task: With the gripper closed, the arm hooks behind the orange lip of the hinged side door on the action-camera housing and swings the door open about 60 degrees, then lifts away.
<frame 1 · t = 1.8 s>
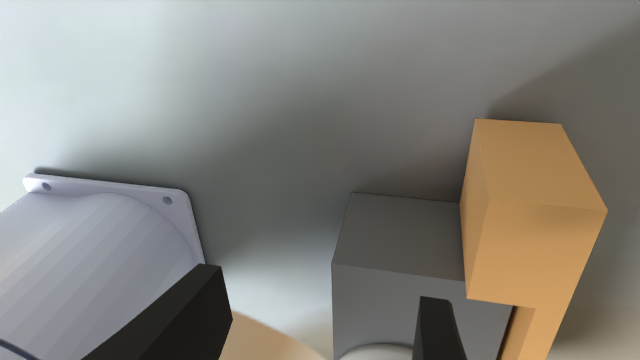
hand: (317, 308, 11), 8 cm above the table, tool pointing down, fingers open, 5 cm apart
camera housing: (413, 282, 21), on the table
camera door: (488, 309, 17), point 3 cm above the table, hinge at 0.0°
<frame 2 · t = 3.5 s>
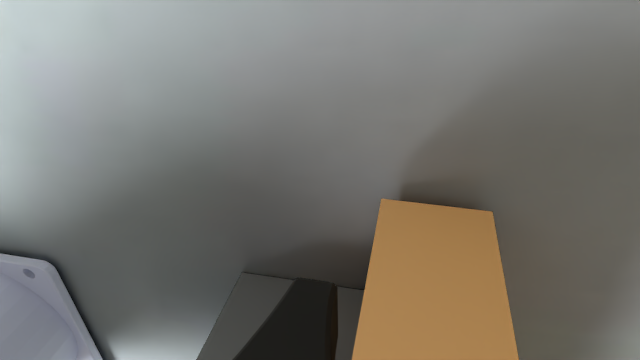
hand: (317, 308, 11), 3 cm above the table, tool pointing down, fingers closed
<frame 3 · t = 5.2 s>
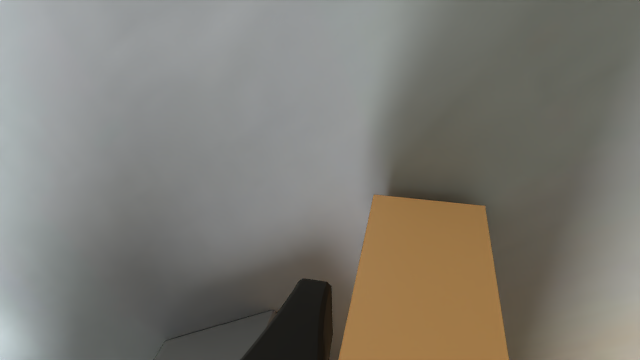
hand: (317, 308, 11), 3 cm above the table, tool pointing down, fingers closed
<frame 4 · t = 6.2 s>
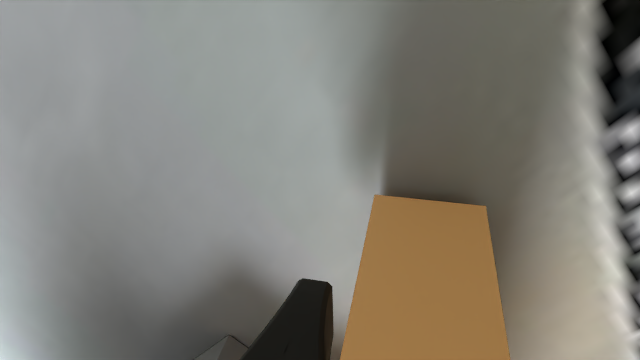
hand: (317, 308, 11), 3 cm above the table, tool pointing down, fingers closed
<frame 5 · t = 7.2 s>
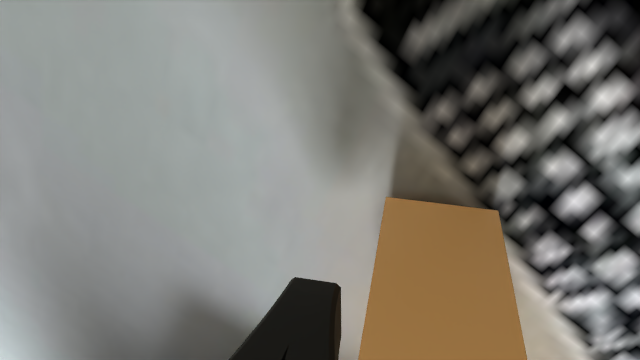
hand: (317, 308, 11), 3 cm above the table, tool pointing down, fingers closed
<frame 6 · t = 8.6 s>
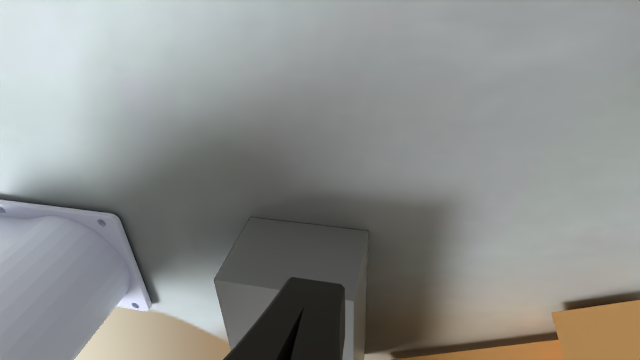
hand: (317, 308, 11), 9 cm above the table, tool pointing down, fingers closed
camera housing: (312, 291, 24), on the table
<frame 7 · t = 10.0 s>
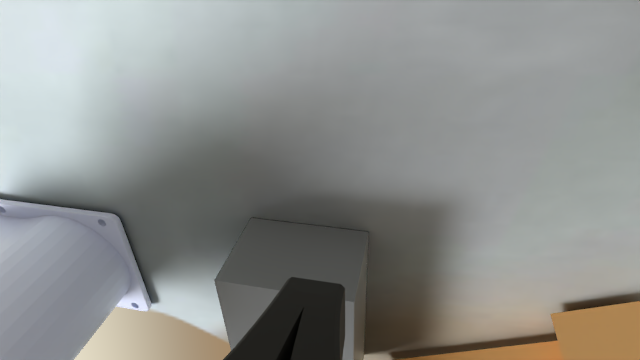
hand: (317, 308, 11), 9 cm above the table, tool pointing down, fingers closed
camera housing: (312, 292, 24), on the table
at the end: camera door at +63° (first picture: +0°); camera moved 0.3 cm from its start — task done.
